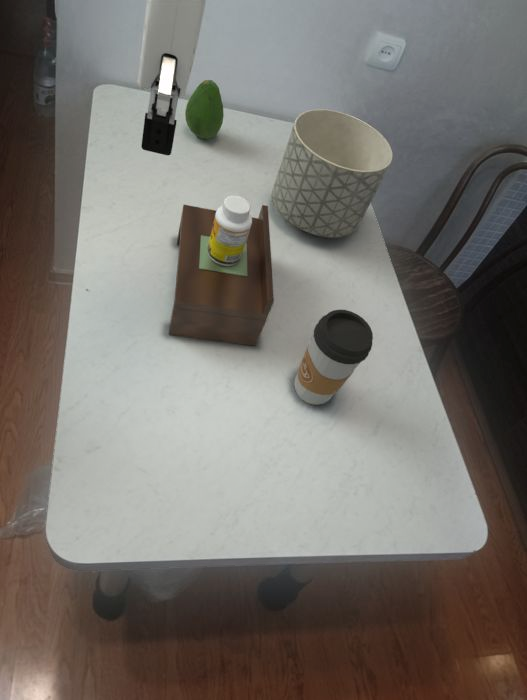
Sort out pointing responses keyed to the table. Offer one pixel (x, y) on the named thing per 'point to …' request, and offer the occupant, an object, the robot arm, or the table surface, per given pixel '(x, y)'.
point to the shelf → (221, 283)
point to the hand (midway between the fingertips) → (159, 127)
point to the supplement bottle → (230, 231)
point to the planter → (330, 172)
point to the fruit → (205, 110)
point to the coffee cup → (332, 355)
